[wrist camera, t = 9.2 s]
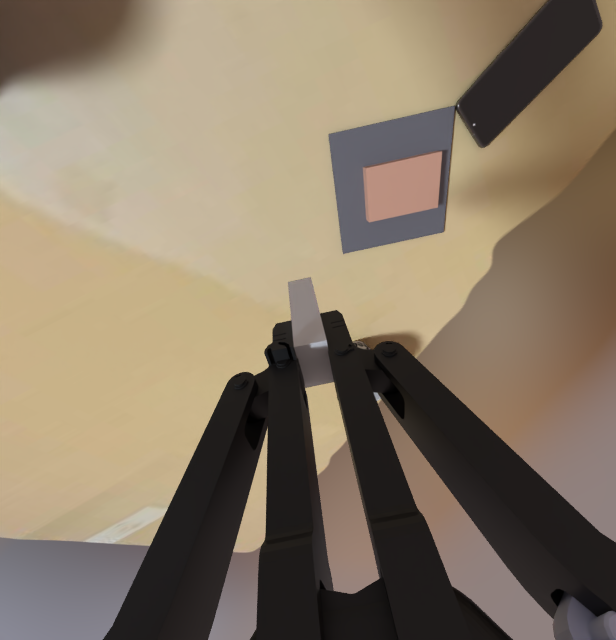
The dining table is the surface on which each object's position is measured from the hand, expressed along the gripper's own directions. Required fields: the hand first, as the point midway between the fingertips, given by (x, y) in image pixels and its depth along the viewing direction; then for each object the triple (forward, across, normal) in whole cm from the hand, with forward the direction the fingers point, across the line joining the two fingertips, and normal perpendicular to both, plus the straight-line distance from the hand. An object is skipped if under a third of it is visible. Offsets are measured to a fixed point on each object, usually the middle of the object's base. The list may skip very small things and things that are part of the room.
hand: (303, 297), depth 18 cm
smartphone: (+27, +32, +10) cm, 42 cm away
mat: (+26, +15, 0) cm, 30 cm away
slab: (+25, +11, 0) cm, 27 cm away
